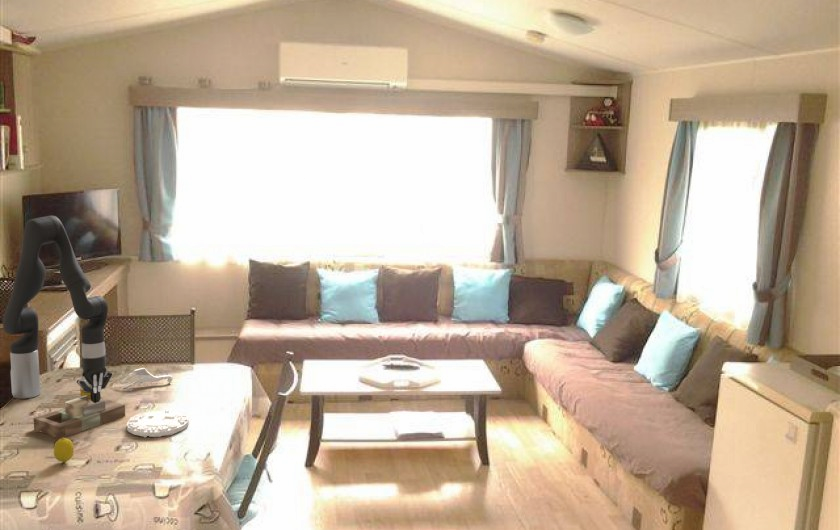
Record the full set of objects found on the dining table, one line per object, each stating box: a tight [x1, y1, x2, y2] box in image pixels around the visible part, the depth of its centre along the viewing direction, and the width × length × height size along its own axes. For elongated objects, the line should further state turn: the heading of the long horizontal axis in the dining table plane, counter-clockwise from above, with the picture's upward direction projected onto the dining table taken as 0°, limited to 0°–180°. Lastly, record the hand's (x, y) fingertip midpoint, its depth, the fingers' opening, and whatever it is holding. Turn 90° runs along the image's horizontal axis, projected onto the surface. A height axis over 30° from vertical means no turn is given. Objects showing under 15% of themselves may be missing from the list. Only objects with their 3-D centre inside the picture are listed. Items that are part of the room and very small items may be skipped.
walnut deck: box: [33, 395, 126, 440], centre depth 256 cm, size 14×25×7 cm, turn 149°
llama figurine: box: [119, 367, 173, 389], centre depth 295 cm, size 2×11×18 cm
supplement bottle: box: [79, 380, 91, 400], centre depth 273 cm, size 5×5×10 cm
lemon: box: [53, 437, 75, 464], centre depth 225 cm, size 6×6×8 cm
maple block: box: [64, 397, 88, 417], centre depth 254 cm, size 5×5×4 cm
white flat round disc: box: [126, 409, 190, 439], centre depth 255 cm, size 20×20×3 cm
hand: (95, 402), depth 261 cm, fingers closed
